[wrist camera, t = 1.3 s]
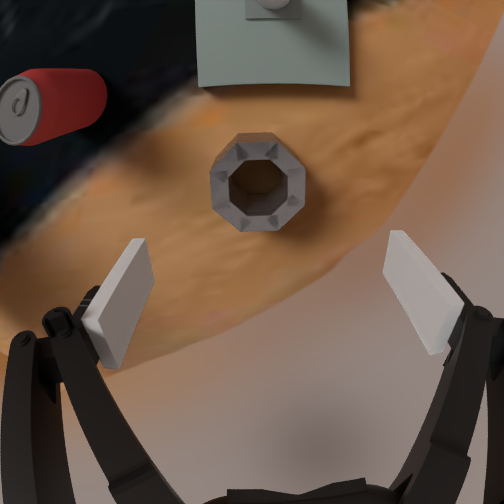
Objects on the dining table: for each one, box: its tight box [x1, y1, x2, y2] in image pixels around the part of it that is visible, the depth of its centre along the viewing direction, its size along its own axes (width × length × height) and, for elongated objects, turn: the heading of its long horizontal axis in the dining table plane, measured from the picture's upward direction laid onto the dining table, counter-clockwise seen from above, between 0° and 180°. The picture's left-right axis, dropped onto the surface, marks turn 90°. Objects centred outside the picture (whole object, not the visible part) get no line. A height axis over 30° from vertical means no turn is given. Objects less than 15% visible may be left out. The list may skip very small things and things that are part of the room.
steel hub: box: [210, 133, 306, 232], centre depth 29 cm, size 8×8×6 cm
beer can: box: [0, 69, 107, 146], centre depth 22 cm, size 7×7×12 cm
